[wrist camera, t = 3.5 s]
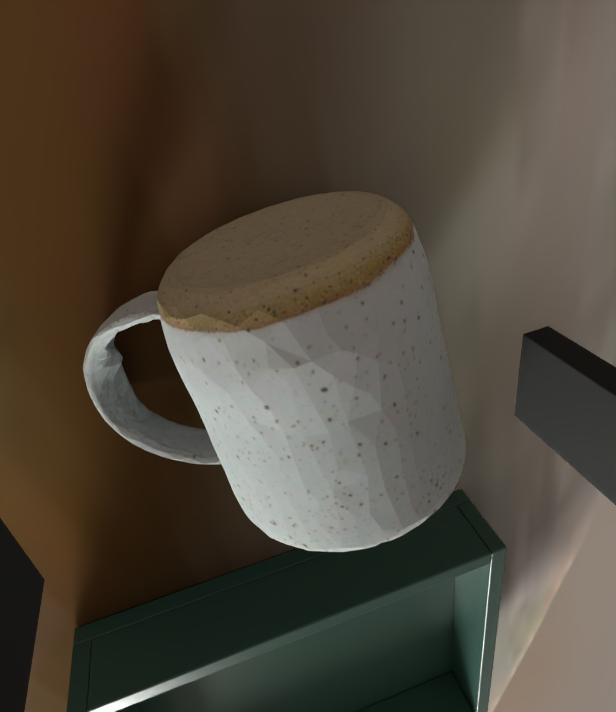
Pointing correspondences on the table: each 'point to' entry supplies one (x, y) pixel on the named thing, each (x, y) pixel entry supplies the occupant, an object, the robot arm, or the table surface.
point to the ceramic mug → (303, 370)
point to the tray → (313, 631)
